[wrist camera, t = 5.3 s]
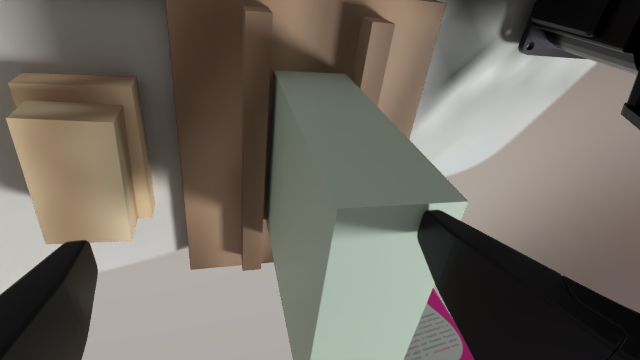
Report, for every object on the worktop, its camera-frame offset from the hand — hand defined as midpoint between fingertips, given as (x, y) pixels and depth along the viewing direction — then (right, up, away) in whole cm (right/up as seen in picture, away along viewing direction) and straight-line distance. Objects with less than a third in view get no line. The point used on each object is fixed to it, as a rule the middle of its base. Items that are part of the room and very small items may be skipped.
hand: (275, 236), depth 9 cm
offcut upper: (-11, +2, +10) cm, 15 cm away
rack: (0, +4, +14) cm, 14 cm away
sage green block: (0, +3, +13) cm, 13 cm away
